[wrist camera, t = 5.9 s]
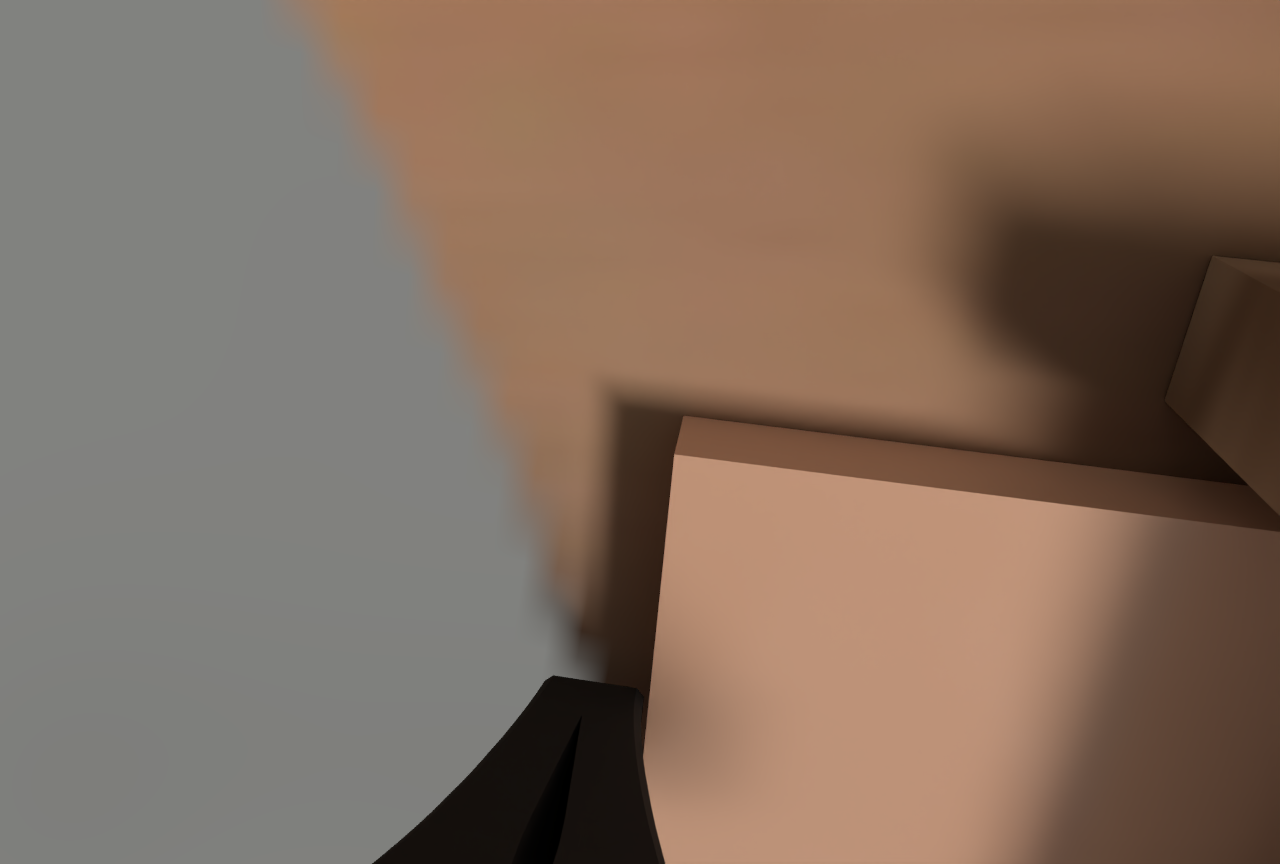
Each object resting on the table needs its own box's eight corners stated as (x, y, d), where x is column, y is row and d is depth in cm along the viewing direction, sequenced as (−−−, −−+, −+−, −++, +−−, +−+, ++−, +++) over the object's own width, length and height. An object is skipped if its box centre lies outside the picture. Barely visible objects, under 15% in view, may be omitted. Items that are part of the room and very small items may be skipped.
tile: (1354, 991, 16) (1421, 1104, 14) (637, 870, 17) (621, 962, 15) (1629, 515, 12) (1762, 593, 10) (687, 399, 13) (674, 454, 11)
